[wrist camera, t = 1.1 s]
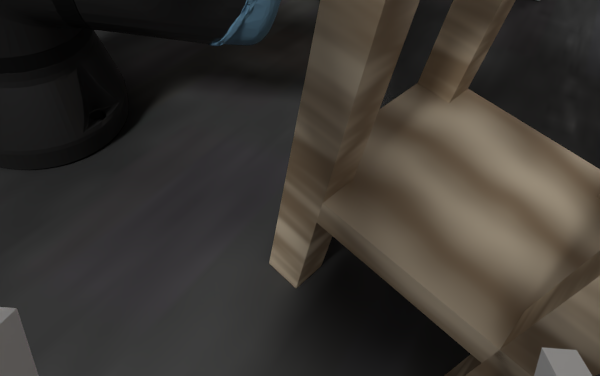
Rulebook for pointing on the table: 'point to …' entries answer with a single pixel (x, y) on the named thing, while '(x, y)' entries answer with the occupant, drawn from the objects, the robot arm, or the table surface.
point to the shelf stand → (442, 190)
